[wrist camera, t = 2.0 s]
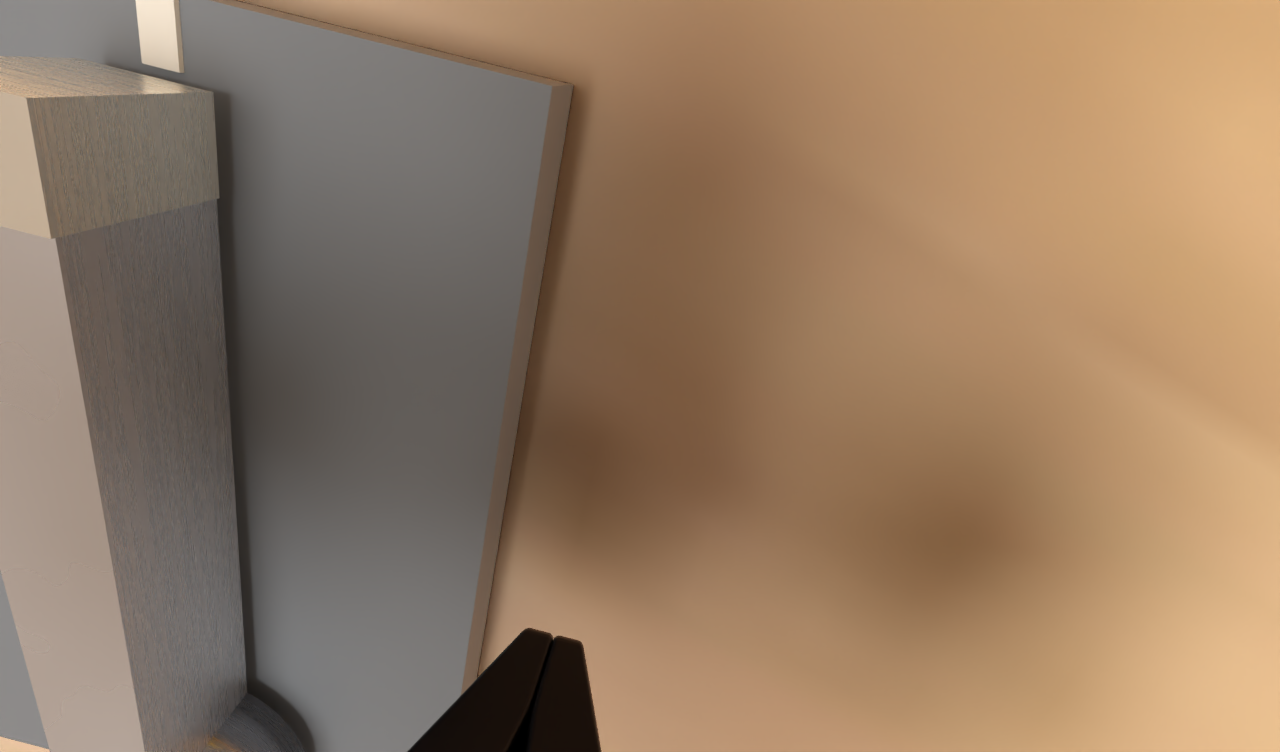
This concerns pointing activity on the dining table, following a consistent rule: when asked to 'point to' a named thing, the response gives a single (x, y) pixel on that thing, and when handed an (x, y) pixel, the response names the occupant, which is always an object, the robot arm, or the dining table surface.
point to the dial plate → (350, 341)
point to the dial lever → (119, 415)
